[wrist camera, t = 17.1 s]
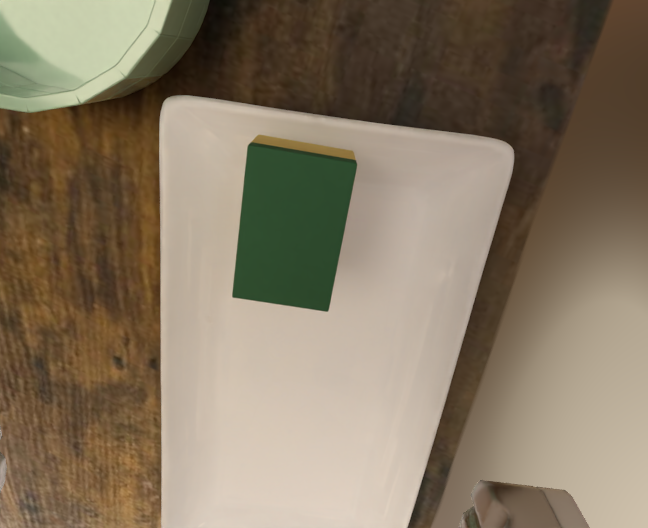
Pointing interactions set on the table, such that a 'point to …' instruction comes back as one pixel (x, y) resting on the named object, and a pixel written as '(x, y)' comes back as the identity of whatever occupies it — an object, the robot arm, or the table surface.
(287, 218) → the sponge
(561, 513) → the robot arm
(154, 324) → the table surface
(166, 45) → the bowl
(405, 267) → the tray
